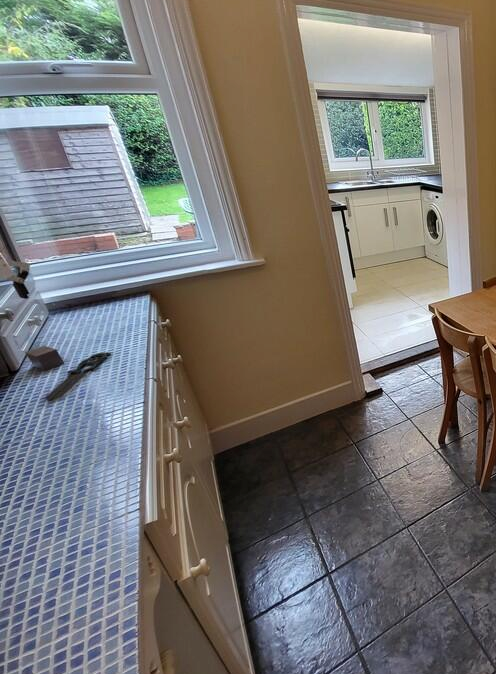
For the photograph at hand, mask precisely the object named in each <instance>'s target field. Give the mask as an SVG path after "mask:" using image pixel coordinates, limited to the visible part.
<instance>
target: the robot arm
mask: <svg viewBox="0 0 496 674" xmlns="http://www.w3.org/2000/svg"><path fill="white" fill-rule="evenodd" d="M11 267H17V268H19V272H18V273H17V274H16V275H15V274H14V272H13V269H12V268H11ZM30 267H31V264H30V263H29V262H23V261H16V260H9V259H5V257H4V256H3V254H2V253H1V252H0V281H2V280H9V281H12V282H13V283H12V286H13V288H14V290H15V291H16V293H17V295H18V296H19V298H20V299H25V300H28V299H30V297H29V295H30V291H29V290H28V288H27V286H26V284H25V282H26V279H27V277H29V274H30V273H29V272H30Z"/></svg>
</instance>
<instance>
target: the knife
mask: <svg viewBox="0 0 496 674" xmlns="http://www.w3.org/2000/svg"><path fill="white" fill-rule="evenodd" d="M110 356H112V354H111V352H108V351H107V352H98V353H95V354H92V355H90V357H87V358H85V359H83V360H82V361H81V362H80V363H78V364H77V366H76V369H71V370H67V371H66V373H67V374H70V375H69V376H68V377H67V378H66V379H64V380H63V381H62V382H61V383H60V384H59V385H57V386H56V388H54V389H53V390H52V391H51V392H50V393H49V394H47V395H46V396H45V398H46V399H47V401H48V402H49V403H48V404H49V405H51V404H53V403H55V402H57V401H59V400H61V399H63V398H65V397H67V395H69V394H70V392H71V391H73V390H74V389H75V388H76V387H77V386H78V385H79V384H80V383H81V382H82V381H84V379H85V378H86V377H87V376H88V375H89V374H90V373H91V372H93V371H94V370H95V369H98V368H100V365H98V364H99V363H100V364H104V363H105V361H106V360H108V357H110ZM90 361H92V362H90ZM85 365H86V366H90V367H88V368H84V369H83V370H82V368H83V367H84V366H85Z"/></svg>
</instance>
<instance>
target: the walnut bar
mask: <svg viewBox="0 0 496 674" xmlns="http://www.w3.org/2000/svg"><path fill="white" fill-rule="evenodd" d="M24 353H25V355H26V356H27V358H28V360H29V361H30V363H31V364H32V366H33V367H35V368H37V369H39V370H43V371H45V372H46V371H49V370H52V369H54V368H56V367H58V366H61V365H64V364H65V362H64V360H63V358H62V356H61V355H60V354H59V352H58V350H57V349H56V348H53V347H50V346H47V345H42V346H39V347H36V348H32V349H30V350H27V351H24Z"/></svg>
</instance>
